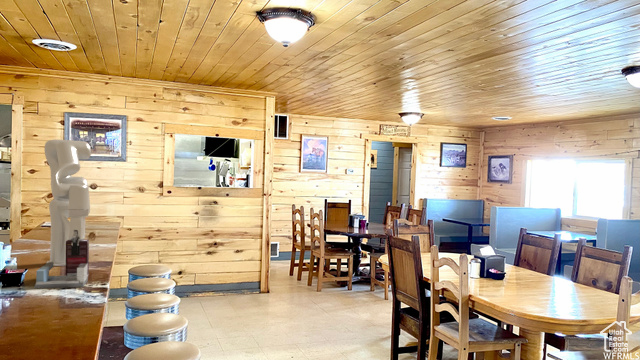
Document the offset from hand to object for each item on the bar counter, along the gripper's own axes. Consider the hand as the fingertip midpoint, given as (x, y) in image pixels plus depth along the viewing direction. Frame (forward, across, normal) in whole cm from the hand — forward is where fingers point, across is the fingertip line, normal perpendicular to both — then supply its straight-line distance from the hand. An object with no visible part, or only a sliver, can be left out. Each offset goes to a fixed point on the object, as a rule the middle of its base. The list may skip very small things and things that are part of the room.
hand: (77, 253), depth 204 cm
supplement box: (+10, -1, 0) cm, 10 cm away
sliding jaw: (+9, +8, -10) cm, 16 cm away
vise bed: (+10, +12, -3) cm, 16 cm away
